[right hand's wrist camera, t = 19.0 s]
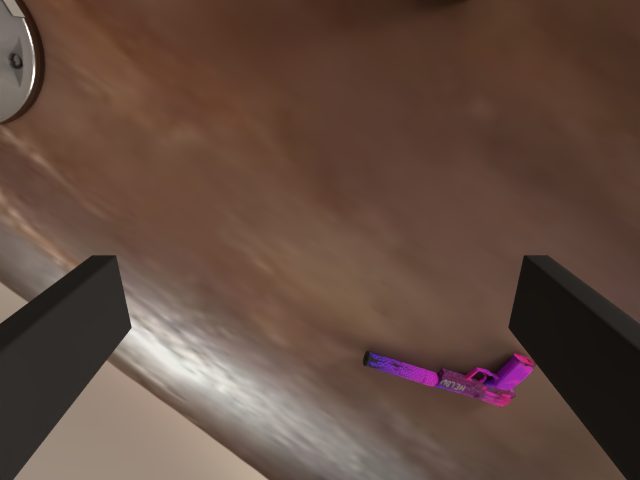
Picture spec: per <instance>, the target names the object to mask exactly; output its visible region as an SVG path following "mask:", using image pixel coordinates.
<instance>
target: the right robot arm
mask: <svg viewBox="0 0 640 480" xmlns="http://www.w3.org/2000/svg"><path fill="white" fill-rule="evenodd" d="M44 69H45V61H44V51H43V46H42V41H41V38H40V34H39V31H38V29H37V26H36V24H35V21H34V19H33V17H32V15H31V13H30V12H29V10H28V8H27V6H26V5H25V3H24V2H23V0H0V125H1V124H5V123H8V122H11V121H13V120H15V119H17V118H19V117H20V116H22V115H23V114H24V113H26V112H27V111H28V110H29V109H30V108H31V106H32V105H33V104H34V102H35V101H36V99H37V97H38V95H39V93H40V90H41V87H42V83H43V79H44ZM131 328H132V327H131V323H130V318H129V313H128V309H127V304H126V299H125V295H124V290H123V286H122V281H121V276H120V272H119V267H118V262H117V258H116V255H92V256H91V257H89V258H88V259H87V260H85V261H84V262H83V263H81V264H80V265H79V266H77V267H76V268H75V269H73V270H72V271H71V272H69V273H68V274H67V275H65V276H64V277H63V278H61V279H60V280H59V281H57V282H56V283H54V284H53V285H52V286H50V287H49V288H48V289H46V290H45V291H44V292H42V293H41V294H40V295H38V296H37V297H36V298H34V299H33V300H32V301H30V302H29V303H28V304H26V305H25V306H24V307H22V308H21V309H19V310H18V311H17V312H15V313H14V314H13V315H12V316H10V317H9V318H7V319H6V320H5V321H3V322H2V323H1V324H0V480H13V479H14V478H15V477H16V475H17V474H18V473H19V472H20V470H21V469H22V468H23V466H24V465H25V464H26V463H27V461H28V460H29V459H30V457H31V456H32V455H33V454H34V452H35V451H36V450H37V448H38V447H39V446H40V445H41V443H42V442H43V441H44V439H45V438H46V437H47V436H48V434H49V433H50V432H51V430H52V429H53V428H54V427H55V425H56V424H57V423H58V422H59V420H60V419H61V418H62V416H63V415H64V414H65V413H66V411H67V410H68V409H69V407H70V406H71V405H72V404H73V402H74V401H75V400H76V398H77V397H78V396H79V395H80V393H81V392H82V391H83V389H84V388H85V387H86V386H87V384H88V383H89V382H90V380H91V379H92V378H93V377H94V375H95V374H96V373H97V372H98V370H99V369H100V368H101V366H102V365H103V364H104V363H105V361H106V360H107V359H108V357H109V356H110V355H111V354H112V352H113V351H114V350H115V348H116V347H117V346H118V345H119V343H120V342H121V341H122V339H123V338H124V337H125V336H126V334H127V333H128V332H129V330H130V329H131ZM508 328H509V329H510V331H511V332H512V333H513V334H514V336H515V337H516V338H517V339H518V341H519V342H520V343H521V345H522V346H523V347H524V348H525V350H526V351H527V352H528V354H529V355H530V356H531V357H532V359H533V360H534V361H535V363H536V364H537V365H538V366H539V368H540V369H541V370H542V372H543V373H544V374H545V375H546V377H547V378H548V379H549V381H550V382H551V383H552V384H553V386H554V387H555V388H556V389H557V391H558V392H559V393H560V395H561V396H562V397H563V398H564V400H565V401H566V402H567V404H568V405H569V406H570V407H571V409H572V410H573V411H574V413H575V414H576V415H577V416H578V418H579V419H580V420H581V422H582V423H583V424H584V425H585V427H586V428H587V429H588V431H589V432H590V433H591V434H592V436H593V437H594V438H595V439H596V441H597V442H598V443H599V445H600V446H601V447H602V448H603V450H604V451H605V452H606V454H607V455H608V456H609V457H610V459H611V460H612V461H613V463H614V464H615V465H616V466H617V468H618V469H619V470H620V472H621V473H622V474H623V475H624V477H625V478H626V479H627V480H640V324H639V323H638V322H637V321H635V320H634V319H633V318H631V317H630V316H629V315H627V314H626V313H625V312H623V311H622V310H621V309H619V308H618V307H616V306H615V305H614V304H612V303H611V302H610V301H608V300H607V299H606V298H604V297H603V296H602V295H600V294H599V293H598V292H596V291H595V290H594V289H592V288H591V287H590V286H588V285H587V284H586V283H584V282H583V281H581V280H580V279H579V278H577V277H576V276H575V275H573V274H572V273H571V272H569V271H568V270H567V269H565V268H564V267H563V266H561V265H560V264H559V263H557V262H556V261H555V260H553V259H552V258H551V257H549V256H548V255H524V258H523V262H522V267H521V272H520V276H519V281H518V286H517V290H516V295H515V299H514V304H513V309H512V313H511V318H510V323H509V327H508Z"/></svg>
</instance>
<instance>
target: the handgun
mask: <svg viewBox="0 0 640 480" xmlns="http://www.w3.org/2000/svg"><path fill="white" fill-rule="evenodd" d="M363 364H364V366H367V367H371V368H374V369H377V370H380V371H383V372H387V373H390V374H393V375H397V376H400V377H403V378H406V379H409V380H412V381H416V382H419V383H421V384H425V385H429V386H432V387H433V386H435V387H437V388H444V389H447V390H450V391H453V392H457V393H460V394H464V395H467V396H471V397H474V398H476V399H479V400H482V401H486V402H489V403H492V404H495V405H497V406H499V407H502V406H506V405H507V404H508V403H509V402H510V401H511V400H512V399H513V398H514V397H515V392H514V391H513V390H512V388H513V387H515V386H516V385H517V384H519V383H520V382H521V381H522V380H523V379H524V378H525V377H526V376H527V375H528V374H529V373H530V372H531V371H532V370H533V369H534V367H535V366H536V363H535V362H534V361H533V360H531V359H530V358H527V357H524V356H521V355H518V354H515V353H514V356H513V358H512V359H511V360H510V361H509V362H508V363H507V364H506V365H504V366H503V367H502V368H501V369H500V371H498V373H497V374H495V373H491V372H490V371H489V370H486V369H482V368H477V367H476V368H475V369H473V370H472V371H471V372H469V373H468V374H467V375H464V374H460V373H457V372H454V371H451V370H448V369H444V368H442V369H441V370H440V372H439V373H438V375H437V374H436V373H435V372H432V371H429V370H426V369H424V368H420V367H416V366H413V365H410V364H407V363H404V362H401V361H397V360H394V359H391V358H388V357H385V356H381V355H378V354H375V353H372V352H369V351H367V352H366V353H365V356H364V359H363ZM478 371H480V372H483V373H482V374H484V375H485V374H487V375H489V376H493V378H492V379H491V380H486V375H485V376H484V378H483V379H481V380H480V379H477V378H474V377H472V376H473V375H475V374H476V373H477V372H478ZM485 380H486V381H485Z"/></svg>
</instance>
